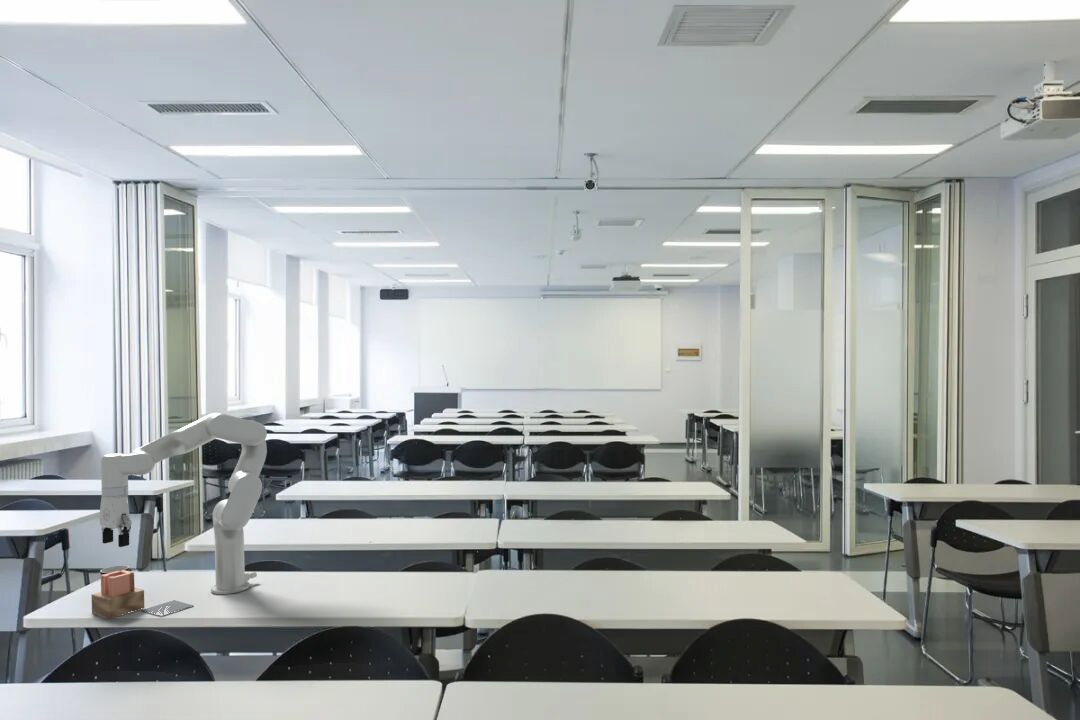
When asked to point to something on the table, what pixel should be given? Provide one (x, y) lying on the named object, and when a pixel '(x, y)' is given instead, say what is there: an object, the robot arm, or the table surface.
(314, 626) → the table surface
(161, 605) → the mat
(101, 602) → the stand
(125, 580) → the c link
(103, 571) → the coffee mug
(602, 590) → the table surface
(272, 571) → the table surface
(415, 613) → the table surface
